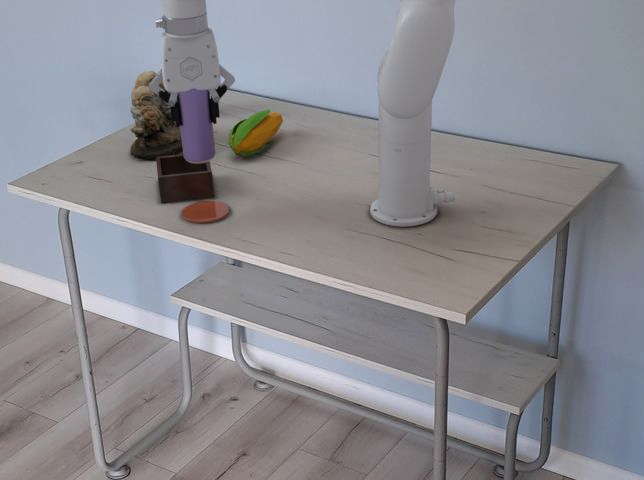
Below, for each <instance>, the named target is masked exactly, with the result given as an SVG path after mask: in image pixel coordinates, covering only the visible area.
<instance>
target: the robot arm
mask: <svg viewBox="0 0 644 480" xmlns="http://www.w3.org/2000/svg"><path fill="white" fill-rule="evenodd" d="M455 4H456V0H400V2H399V4H398V6H397V7H398V8H397V11H396V19H395V22H396V23H395V29H394V32H393V35H392V39H391V42H390V45H389V49H388V50H387V51H386V52H385V53H384V54H383V55H382V57H381V60H380V62H379V65H378V69H377V86H376V87H377V89H376V91H377V98H378V136H377V141H378V142H377V143H378V145H377V147H378V148H377V150H378V151H377V154H378V156H377V157H378V159H377V160H378V162H377V164H378V166H377V167H378V169H377V170H378V173H377V174H378V176H377V177H378V179H377V180H378V192H377V194H378V195H377V196H378V198H376V199H375V200H374V201H373V202H372V203H371V204H370V207H369V210H370V211H369V213H370V216H371V217H372V219H374V221H377V222H379V223H381V224H383V225H387V226H392V227H402V228H403V227H404V228H405V227H406V228H407V227H415V226H420V225H424V224H427V223H429V222H431V221H432V220H434V219H435V217H436V216H437V214H438V205H439V204H440V203H453V202H455V199H456V198H455V196H456V195H455V192H454V191H445V189H444V187H441V188H434V189H432V187H430V185H431V184H430V182H431V153H432V152H431V151H432V150H431V149H432V148H431V147H432V126H433V125H432V121H433V119H432V117H433V99H434V97H435V95H436V91H437V88H438V86H439V83H440V80H441V77H442V75H443V71H444V68H445V65H446V62H447V59H448V56H449V53H450V50H451V47H452V44H453V40H454V35H455V30H456V22H455ZM161 6H162V7H161V8H162V16H161V18H159V19H155V28H160V29H162V30H164V31H162V32H161V36H160V63H161V69H159V71H158V72H157V73H156V74H157V75H156V76H155V77H154V79H153V80H152V81H151V82H150V84H149V89H150V90H151V91H153V92H154V93H155V94H157V95H158V96H159V97H160V98H161V99H163V100H164V101H165V102H166V103H168V105H169V106H170V109H171V118H172V122H175V121H176V127H179V126H180V119H179V110H178V103H177V102H176V99H177V95H178V93H181V92H185V91H189V90H190V89H192V88H195V89H197V90H208V91H209V93H210V102H211V113H212V123H213V125H217V123H218V122H217V118H220V117H221V116H220V104H219V102H220V100H221V99H222V97H223V96H224V95H225V94H226V93H227V91H228V90H229V88H231V87H232V85H233V84H234V83H235V81H236V78H235V75H233V74H232V73H231V72H230V71H228V70H227V69H226V68H225V67H224V66H222V64H221V63H220V61H219V60H220V59H219V53H218V46H217V42H216V38H215V33H214V31H213V29H212V28H211V27H209V24H208V12H207V1H206V0H161ZM221 77H222V78H223V79H224V80H223V82H222V83H221V79H222V78H221ZM162 81H163V83H164V87H165V89H166V91H168V92H169V93H168V92H166V91H165V90H164V89H162V88H161V87H159V84H160V83H161V82H162Z"/></svg>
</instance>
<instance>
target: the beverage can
mask: <svg viewBox="0 0 644 480" xmlns="http://www.w3.org/2000/svg"><path fill="white" fill-rule="evenodd" d="M210 99H211V95H210V93H209V91H208V90H197V89H195V88H192V89H190V90H189V91H185V92H181V93H178V95H177V103H178V110H179V119H180V130H181V139H182V148H183V151H182V154H183V156H184V158H185V160H186V161H188V162H190V163H194V164H200V163H206V162H209V161H210V162H211V161H212V160H213V159H214V158H215V156H216V147H215V146H216V145H215V137H214V135H215V134H214V123H213V122H212V113H211V102H210Z"/></svg>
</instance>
